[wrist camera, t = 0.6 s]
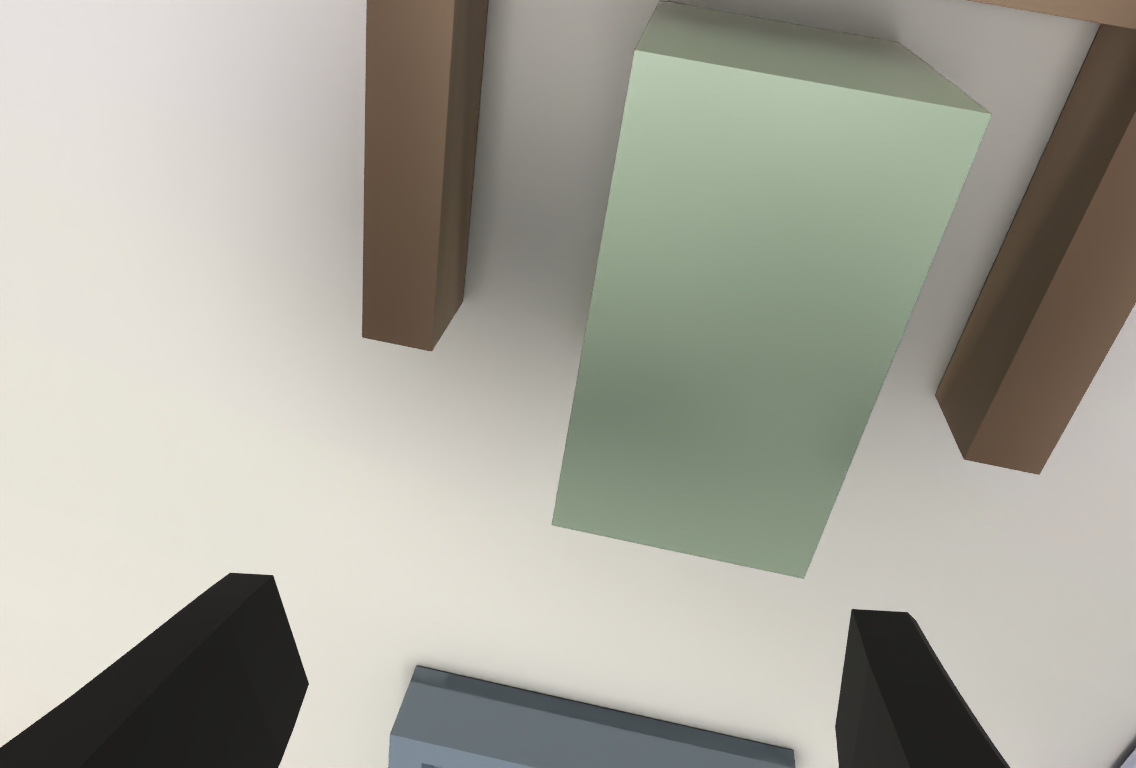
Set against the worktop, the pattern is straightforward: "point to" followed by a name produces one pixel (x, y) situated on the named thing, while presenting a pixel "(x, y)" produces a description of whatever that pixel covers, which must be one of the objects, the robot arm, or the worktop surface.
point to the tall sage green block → (754, 279)
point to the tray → (548, 733)
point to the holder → (1000, 317)
